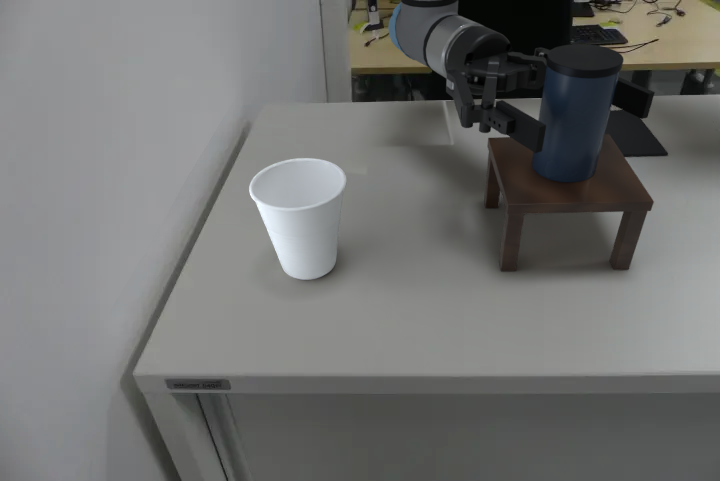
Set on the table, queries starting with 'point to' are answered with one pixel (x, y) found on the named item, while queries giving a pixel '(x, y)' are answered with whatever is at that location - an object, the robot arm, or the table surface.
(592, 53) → the blue lidded tin
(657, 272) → the table surface
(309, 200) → the cup
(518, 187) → the small brown wooden table
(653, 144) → the mat
